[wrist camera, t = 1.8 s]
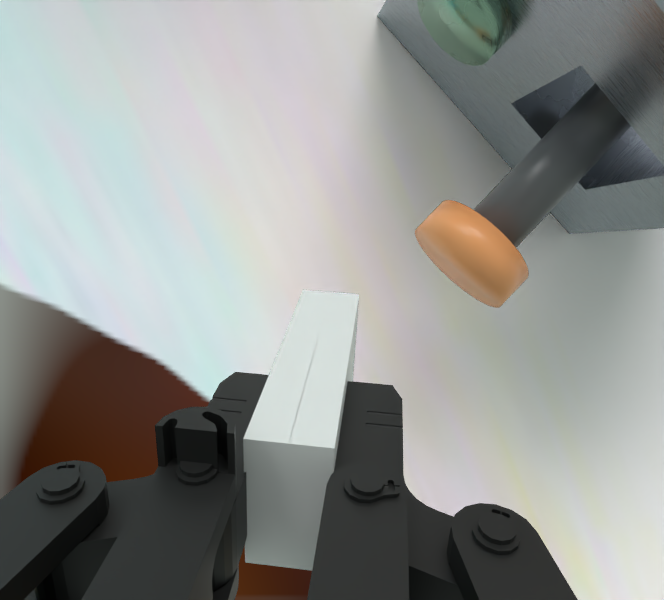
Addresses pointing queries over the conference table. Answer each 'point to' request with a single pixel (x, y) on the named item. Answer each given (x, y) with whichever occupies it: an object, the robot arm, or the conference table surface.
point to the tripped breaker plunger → (519, 203)
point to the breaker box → (553, 87)
